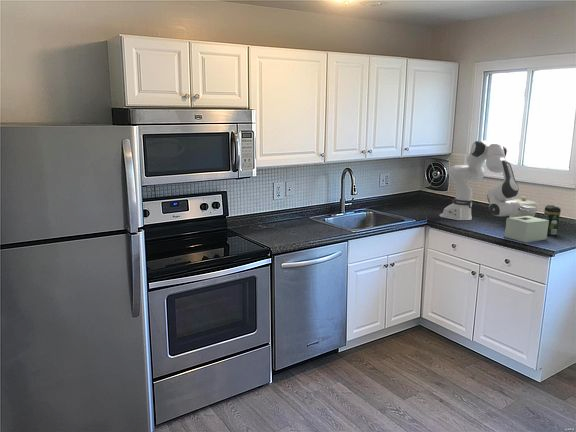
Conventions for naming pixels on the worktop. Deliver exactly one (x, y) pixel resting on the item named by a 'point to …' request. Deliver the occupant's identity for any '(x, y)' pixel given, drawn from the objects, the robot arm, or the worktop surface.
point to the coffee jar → (552, 218)
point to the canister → (525, 202)
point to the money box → (526, 228)
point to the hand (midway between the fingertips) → (527, 206)
